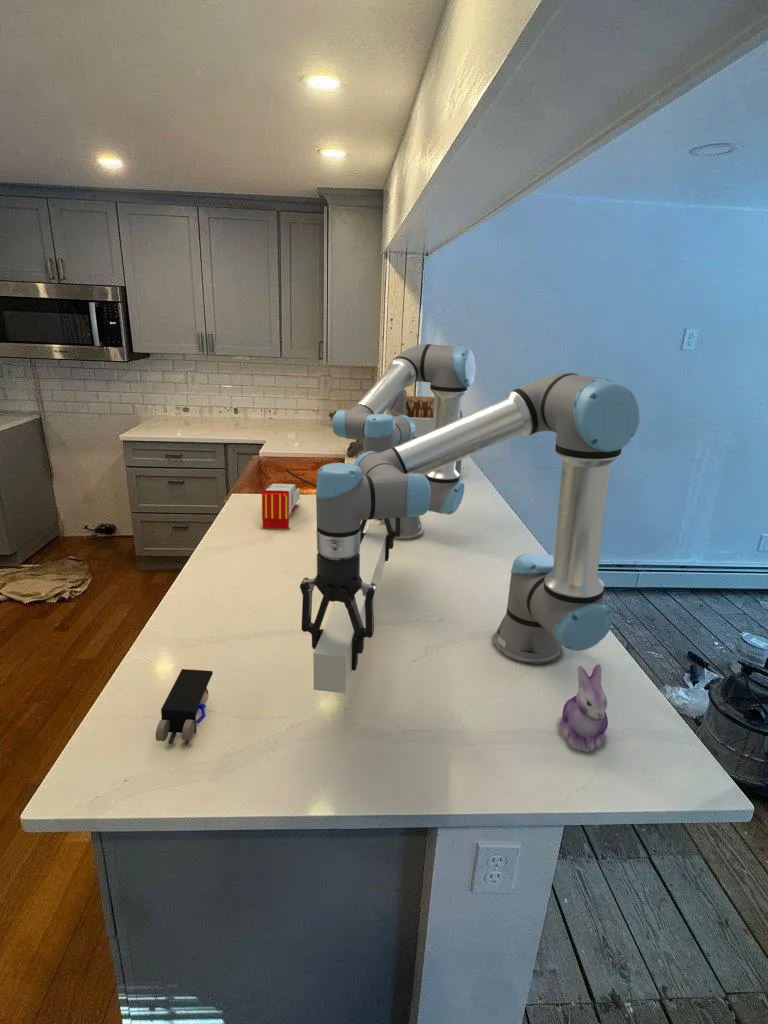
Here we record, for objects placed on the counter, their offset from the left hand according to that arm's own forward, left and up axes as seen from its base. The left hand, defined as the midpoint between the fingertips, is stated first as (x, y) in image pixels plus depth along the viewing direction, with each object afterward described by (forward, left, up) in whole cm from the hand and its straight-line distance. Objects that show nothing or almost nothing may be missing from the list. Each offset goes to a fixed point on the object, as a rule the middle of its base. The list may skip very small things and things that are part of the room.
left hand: (375, 557), depth 153 cm
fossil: (-128, +95, -11) cm, 160 cm away
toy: (-68, +11, -11) cm, 70 cm away
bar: (+17, -18, -1) cm, 25 cm away
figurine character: (+19, -61, -11) cm, 64 cm away
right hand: (+33, -37, 0) cm, 50 cm away
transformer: (-82, +97, -11) cm, 127 cm away
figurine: (+67, -4, -11) cm, 68 cm away
